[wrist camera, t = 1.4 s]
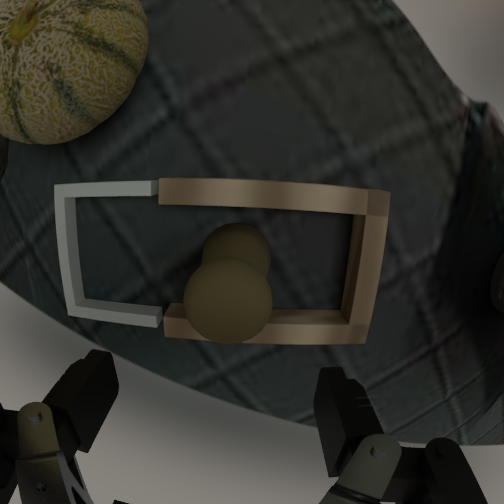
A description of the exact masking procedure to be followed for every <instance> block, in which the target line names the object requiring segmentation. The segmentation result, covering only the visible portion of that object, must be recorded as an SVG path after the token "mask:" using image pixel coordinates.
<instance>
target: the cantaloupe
mask: <svg viewBox="0 0 504 504" xmlns="http://www.w3.org/2000/svg"><path fill="white" fill-rule="evenodd" d="M148 42H149V38H148V29H147V19H146V15H145V14H144V10H143V8H142V6H141V3H140V2H139V0H1V1H0V134H1V135H2V136H3V137H6V138H9V139H11V140H16V141H18V142H22V143H27V144H44V145H48V144H58V143H64V142H67V141H70V140H73V139H75V138H77V137H79V136H82V135H84V134H86V133H88V132H90V131H91V130H92V129H94V128H95V127H96V126H97V125H99V124H100V123H102V122H103V121H105V120H106V119H108V118H109V117H110V116H111V115H112V114H113V113H114V112H115V111H116V110H117V109H118V108H119V107H120V106H121V105H122V104H123V102H124V101H125V100H126V99H127V98H128V95H129V94H130V93H131V91H132V89H133V86H134V84H135V82H136V79H137V77H138V76H139V74H140V72H141V70H142V67H143V65H144V62H145V58H146V55H147V50H148Z"/></svg>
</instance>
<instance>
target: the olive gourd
mask: <svg viewBox="0 0 504 504" xmlns="http://www.w3.org/2000/svg"><path fill="white" fill-rule="evenodd" d="M270 262H271V250H270V246H269V244H268V242H267V240H266V238H265V237H264V236H263V235H262V234H261V233H260V232H259V231H258V230H257V229H255V228H253V227H252V226H250V225H247V224H242V223H231V224H225V225H223V226H221V227H219V228H217V229H216V230H215V231H214V232H213V233H211V234H210V235H209V236H208V238H207V240H206V242H205V244H204V247H203V254H202V262H201V266H200V267H199V268H198V269H197V270H196V271H195V272H194V273H193V274H192V275H191V277H190V279H189V281H188V283H187V285H186V287H185V290H184V299H183V305H184V310H185V314H186V318H187V319H188V321H189V322H190V324H191V326H192V327H193V328H194V329H195V330H196V331H197V332H198V333H199V334H200V335H201V336H203V337H204V338H206V339H208V340H210V341H212V342H215V343H220V344H225V345H229V344H239V343H242V342H244V341H247V340H250V339H252V338H253V337H255V336H256V335H257V334H258V333H260V332H261V331H262V330H263V328H264V326H265V325H266V323H267V322H268V320H269V318H270V315H271V311H272V306H273V301H272V293H271V287H270V285H269V283H268V281H267V279H266V278H267V275H268V271H269V267H270Z"/></svg>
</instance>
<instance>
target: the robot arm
mask: <svg viewBox="0 0 504 504" xmlns="http://www.w3.org/2000/svg"><path fill="white" fill-rule="evenodd" d="M490 295H491V300H492V304H493V305H494V307H495V308H496V309H498V310H499V311H501V312H502V313H503V314H504V252H503V253H502V254H501V256H500V258H499V260H498V261H497V264H496V266H495V269H494V272H493V275H492V280H491V287H490ZM118 390H119V383H118V378H117V374H116V370H115V366H114V361H113V357H112V354H111V353H110V352H107V351H101V350H96V349H92V350H91V351H90V352H89V353H88V355H87V356H86V357H85V359H80V360H78V361H76V362H75V363H73V364H71V365H70V367H69V368H68V369H67V370H66V371H65V374H63V375H62V377H61V378H60V380H59V381H58V382H57V383H56V384H55V385H54V387H53V388H52V389H51V390H50V392H49V393H48V394H47V396H46V397H45V398H44V400H43V401H42V402H32V403H28V404H26V405H25V406H23V407H22V408H21V409H20V411H14V410H5V409H3V407H2V405H1V403H0V504H8V503H9V501H10V499H11V497H12V495H13V493H14V490H15V488H16V486H17V484H18V486H19V492H20V497H21V501H22V504H94V503H93V501H92V500H91V498H90V496H89V494H88V491H87V488H86V486H85V483H84V480H83V478H82V475H81V472H80V469H79V466H78V463H77V460H76V457H75V456H74V455H75V453H76V451H77V450H79V451H82V452H85V453H88V452H89V450H90V448H91V446H92V444H93V442H94V440H95V438H96V436H97V434H98V432H99V430H100V428H101V426H102V424H103V422H104V420H105V418H106V416H107V414H108V413H109V411H110V409H111V407H112V405H113V403H114V401H115V399H116V397H117V395H118ZM314 414H315V418H316V422H317V427H318V431H319V435H320V439H321V444H322V449H323V453H324V457H325V462H326V466H327V471H328V476H329V478H330V477H339V478H338V480H337V482H336V483H335V484H334V486H332V487H331V488H330V489H329V491H328V492H327V493H326V495H325V496H324V498H323V499H322V500H321V502H320V503H319V504H381V503H380V502H395V503H396V504H488V503H487V501H486V499H485V497H484V494H483V492H482V490H481V488H480V486H479V484H478V482H477V480H476V478H475V476H474V474H473V471H472V470H471V467H470V466H469V464H468V462H467V460H466V458H465V456H464V454H463V452H462V450H461V448H460V447H459V445H458V444H457V443H456V442H455V441H453V440H451V439H448V438H443V437H442V438H435V439H433V440H431V441H430V442H429V443H428V444H427V445H426V447H425V448H411V447H402V446H400V444H399V443H398V441H397V440H395V439H394V438H392V437H391V436H388V435H385V434H384V432H383V429H382V427H381V425H380V423H379V420H378V418H377V416H376V414H375V412H374V409H373V407H372V406H371V403H370V400H369V398H368V396H367V394H366V392H365V390H364V387H363V386H362V385H361V384H359V383H358V382H357V381H356V380H355V379H347V378H346V376H345V373H344V371H343V369H342V367H322V368H321V370H320V373H319V378H318V383H317V387H316V392H315V396H314ZM113 504H128V503H125V502H121V501H117V500H114V502H113Z"/></svg>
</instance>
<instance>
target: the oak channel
mask: <svg viewBox="0 0 504 504" xmlns="http://www.w3.org/2000/svg"><path fill="white" fill-rule="evenodd" d="M390 195H391V192H386V191H381V190H375V189H367V188H358V187H349V186H339V185H328V184H317V183H305V182H291V181H276V180H258V179H236V178H199V177H167V178H159V204H166V205H207V206H234V207H256V208H275V209H292V210H307V211H321V212H335V213H347V214H354V216H353V226H352V235H351V243H350V251H349V259H348V266H347V273H346V280H345V286H344V292H343V299H342V304H341V310H312V309H275V308H272V311H271V315H270V318H269V320H268V322H267V323H266V325H265V326H264V328H263V330H262V331H261V332H260V333H258V334H257V335H256V336H255V337H253V338H252V339H250V340H247V341H244V342H242V343H261V344H362V343H365V342H366V338H367V334H368V330H369V326H370V321H371V317H372V312H373V308H374V303H375V298H376V293H377V288H378V282H379V277H380V271H381V265H382V259H383V253H384V246H385V239H386V231H387V223H388V215H389V206H390ZM163 321H164V333H165V337H173V338H184V339H195V340H207V341H210V340H208V339H206V338H204V337H203V336H201V335H200V334H199V333H198V332H197V331H196V330H195V329H194V328H193V327H192V326H191V324H190V322H189V321H188V319H187V318H186V314H185V310H184V305H183V303H171V304H170V306H169V308H168V309H167V311H166V313H165V314H164V316H163Z"/></svg>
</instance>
